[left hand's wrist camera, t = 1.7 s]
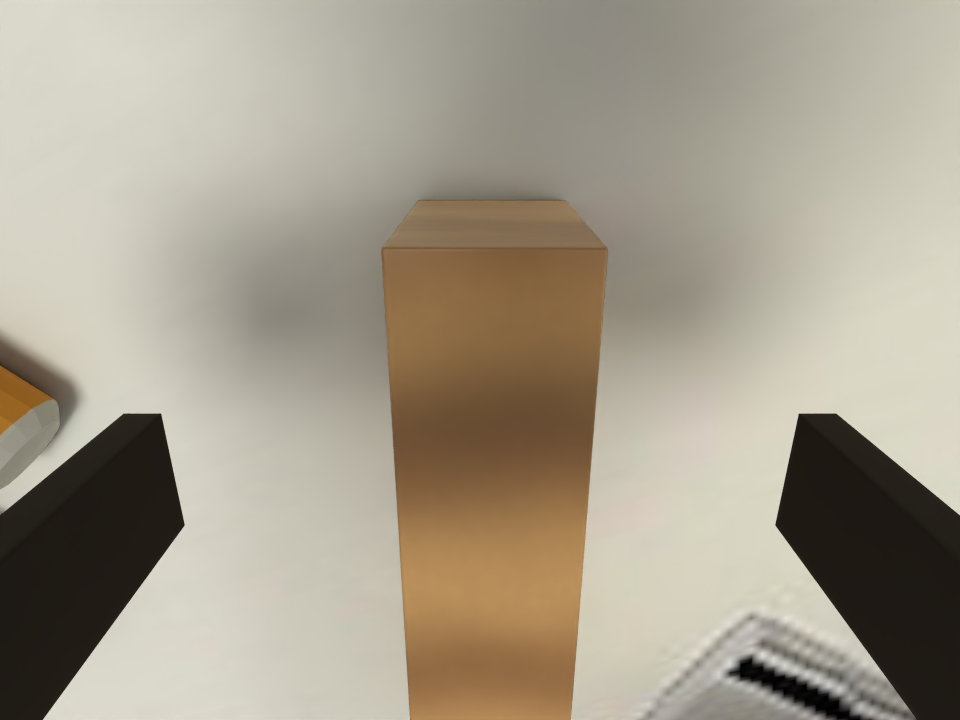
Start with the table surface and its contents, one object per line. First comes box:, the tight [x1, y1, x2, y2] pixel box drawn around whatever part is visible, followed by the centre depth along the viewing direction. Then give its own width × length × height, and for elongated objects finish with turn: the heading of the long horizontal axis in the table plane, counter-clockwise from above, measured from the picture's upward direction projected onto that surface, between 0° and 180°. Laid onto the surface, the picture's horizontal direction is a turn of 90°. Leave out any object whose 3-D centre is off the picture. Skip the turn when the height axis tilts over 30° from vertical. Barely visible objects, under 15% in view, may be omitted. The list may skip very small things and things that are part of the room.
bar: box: [381, 200, 608, 720], centre depth 22 cm, size 26×5×8 cm, turn 0°
